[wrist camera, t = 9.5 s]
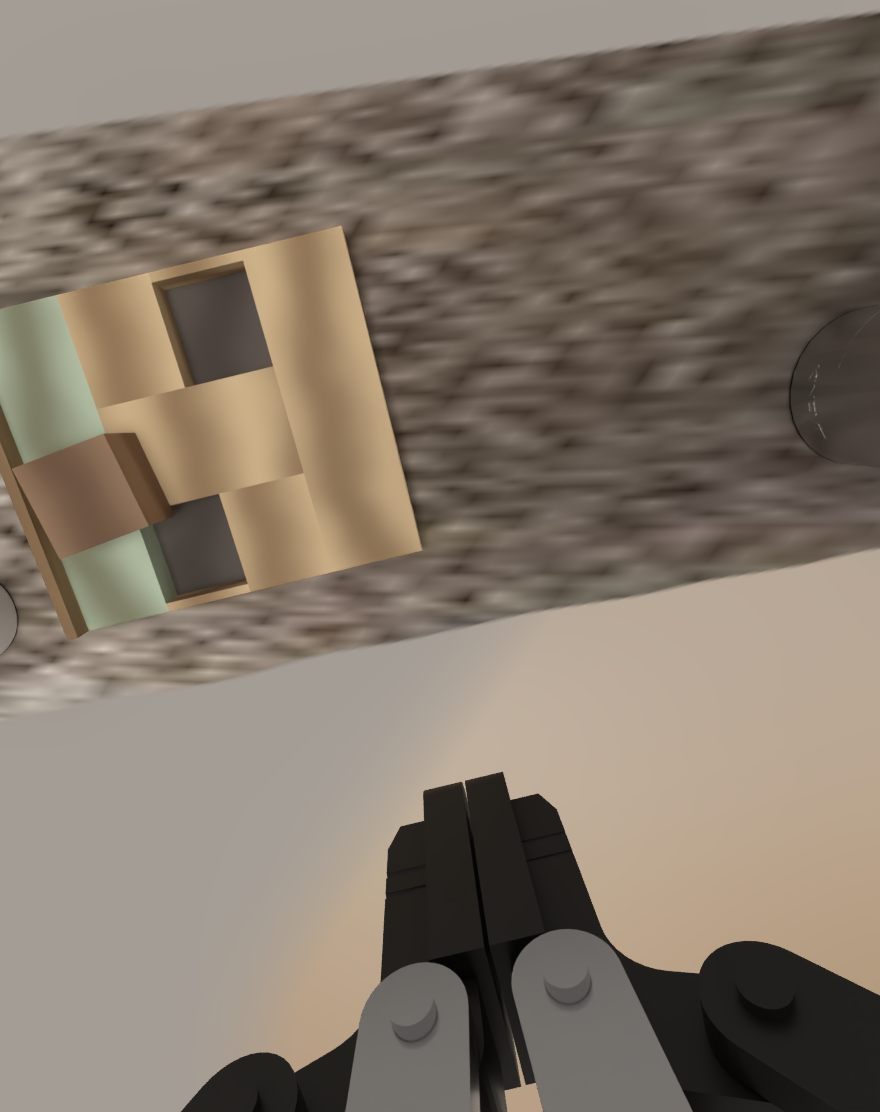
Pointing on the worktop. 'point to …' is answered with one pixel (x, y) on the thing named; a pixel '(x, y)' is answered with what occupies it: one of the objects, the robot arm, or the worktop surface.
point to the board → (212, 426)
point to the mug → (6, 620)
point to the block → (93, 492)
